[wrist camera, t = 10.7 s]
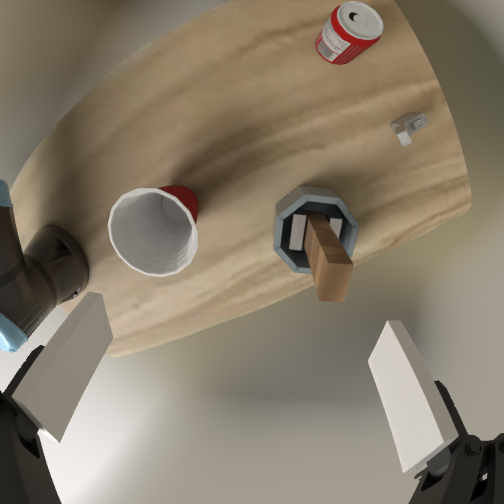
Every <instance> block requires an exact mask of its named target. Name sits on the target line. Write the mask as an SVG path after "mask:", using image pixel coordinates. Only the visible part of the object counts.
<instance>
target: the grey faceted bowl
mask: <svg viewBox="0 0 504 504" xmlns="http://www.w3.org/2000/svg"><path fill="white" fill-rule="evenodd" d="M299 207H303V209H304V211H305V210H312V211H321V212H322V213H323V215H324V210H325V209H327V210H335V211H336V212H337V213H338V214H339V216H340V217H341V218H342V224H341V230H340V235H339V241H340V242H341V244H342V246H343V247H344V249H345V251H346V253H347V254H348V256H349V258H350V257H352V255H353V251H354V246H355V242H356V237H357V233H358V228H359V224H358V223H357V221H356V220H355V218H354V217H353V215H352V214H351V213H350V211H349V210H348V208H347V207H346V205H345V204H344V203H343V201H342V200H341V199H340V198H339V197H338V196H337V195H336V194H335V193H334V192H333V191H332V190H331V189H328V188H320V187H311V186H303V185H300V186H298V187H297V188H296V189H295V190H293V191H292V192H291V193H290V194H288V195H287V196H286V197H284V198H283V199H282V200H281V201H279V202H278V203H277V204H276V206H275V216H274V226H273V248H274V250H275V252H276V253H277V254H278V255H279V256H280V257H281V258H282V259H283V260H284V262H285V263H286V264H287V265H288V266H289V267H290V268H291V269H292V270H293V272H295V273H308V274H312V272H311V268H310V265H309V261H308V258H307V254H306V251H305V248H304V244H303V241H302V248H301V250H293V249H289V246H288V240H287V235H288V227H289V218H290V214H291V213H292V212H294V211H295V210H296V209H298V208H299ZM341 213H342V216H341Z"/></svg>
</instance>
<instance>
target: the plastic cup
mask: <svg viewBox="0 0 504 504" xmlns="http://www.w3.org/2000/svg"><path fill="white" fill-rule="evenodd" d="M197 213H198V201H197V199H196V196H195V194H194V193H193V192H192V191H191V190H190V189H188V188H186V187H184V186H166V187H161V188H137V189H135V190H133V191H131V192H128V193H126V194H124V195H122V196H121V197H120V199H119V200H118V201H117V202H116V203H115V205H114V206H113V207H112V209H111V213H110V217H109V221H108V229H109V236H110V241H111V243H112V245H113V247H114V249H115V250H116V252H117V254H118V256H119V257H120V258H121V259H122V260H123V261H124V262H125V263H127V264H128V265H129V266H130V267H131V268H133V269H135V270H137V271H139V272H141V273H143V274H145V275H150V276H159V277H165V276H168V275H172V274H176V273H179V272H180V271H181V270H183V269H184V268H185V267H186V266H187V265H189V264H190V263H191V261H192V259H193V257H194V255H195V252H196V250H197V248H198V230H197V227H196V221H197Z"/></svg>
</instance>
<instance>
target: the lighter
mask: <svg viewBox="0 0 504 504" xmlns="http://www.w3.org/2000/svg"><path fill="white" fill-rule="evenodd" d="M427 125H429V122H428V120H427V118H426V115H425V114H424V113H408V114H407V115H405V116H403V117H401V118H399V119H397V120H396V121H394V122H392V123H390V126H391V128H392V130H393V132H394V133H395V134H397V136H398V138H399V140H400V142H401V144H402V146H403V147H404V146H407V145H409V144H412V142H411V140H410V137H409V135H411V134H413V133H414V132H416V131H418V130H420V129H421V128H423V127H425V126H427Z"/></svg>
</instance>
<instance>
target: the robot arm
mask: <svg viewBox="0 0 504 504" xmlns="http://www.w3.org/2000/svg"><path fill="white" fill-rule="evenodd" d="M87 282H88V267H87V263H86V260H85V257H84V255H83V252H82V251H81V249H80V247H79V245H78V244H77V243H76V241H75V240H74V239H73V238H72V237H71V236H70V235H69V234H68V233H67V232H66V231H64V230H62V229H61V228H58V227H55V226H49V227H45V228H44V229H42V230H40V231H39V232H37V233H36V234H35V235H34V237H33V238H32V240H31V241H30V243H29V244H28V245H27V247H26V248H25V250H24V252H22V248H21V244H20V240H19V237H18V232H17V228H16V223H15V218H14V213H13V204H12V203H11V198H10V194H9V189H8V185H7V183H6V182H5V181H4V180H3V179H0V349H2V350H4V351H6V352H15V351H17V350H18V349H19V348H20V347H21V346H22V345H23V343H24V342H26V341H28V338H29V337H30V336H31V334H32V333H33V332H34V331H35V329H36V328H37V327H38V326H39V325H40V323H41V322H42V321H43V320H44V319H45V318H46V317H47V315H48V314H49V313H50V312H51V311H52V310H53V309H54V308H55V307H56V306H57V305H59V304H62V303H64V302H66V301H69V300H71V299H73V298H75V297H77V296H78V295H79V294H80V293H81V292H82V291H83V290H84V288H85V287H86V285H87ZM112 339H113V335H112V331H111V328H110V324H109V321H108V317H107V313H106V309H105V305H104V301H103V297H102V294H99V293H94V292H88V293H87V294H86V296H85V297H84V298H83V299H82V300H81V301H80V303H79V304H78V305H77V306H76V307H75V309H74V310H73V311H72V312H71V314H70V315H69V316H68V317H67V319H66V320H65V321H64V322H63V324H62V325H61V326H60V327H59V329H58V330H57V331H56V333H55V334H54V335H53V337H52V338H51V339H50V341H49V342H48V343H47V345H46V346H42V345H40V346H39V347H37V348H36V349H34V350H33V351H32V352H31V353H30V355H29V356H28V357H27V359H26V362H24V363H23V365H22V366H21V368H20V369H19V370H18V372H17V373H16V375H15V376H14V378H13V379H12V381H11V382H10V384H9V385H8V387H7V389H6V390H5V391H4V392H3V393H2V392H1V391H0V504H61V501H60V499H59V497H58V494H57V492H56V489H55V486H54V484H53V481H52V478H51V475H50V472H49V469H48V466H47V463H46V460H45V456H44V453H43V449H42V445H41V442H40V438H39V436H38V434H37V432H38V430H39V429H40V430H41V432H42V433H44V434H45V436H47V437H49V438H51V439H52V440H54V441H57V442H58V443H60V441H61V439H62V437H63V435H64V432H65V430H66V428H67V426H68V423H69V421H70V419H71V417H72V415H73V413H74V411H75V409H76V407H77V405H78V403H79V401H80V399H81V397H82V395H83V393H84V390H85V389H86V387H87V385H88V383H89V381H90V379H91V377H92V375H93V374H94V372H95V370H96V368H97V366H98V364H99V363H100V360H101V359H102V357H103V355H104V354H105V352H106V350H107V348H108V346H109V345H110V343H111V341H112ZM368 363H369V366H370V369H371V371H372V374H373V377H374V380H375V383H376V385H377V388H378V391H379V394H380V397H381V400H382V403H383V406H384V409H385V412H386V415H387V418H388V421H389V424H390V428H391V431H392V434H393V438H394V441H395V444H396V448H397V451H398V455H399V458H400V462H401V466H402V470H403V473H405V472H409V471H411V470H414V469H418V468H419V467H421V466H422V465H424V464H425V463H426V462H427V466H428V467H427V468H425V469H424V470H422V471H421V472H419V473H418V474H417V475H416V476H415V478H414V479H416V478H418V477H420V476H421V475H422V477H421V478H420V479H419V481H420V482H419V484H418V486H417V488H416V490H415V492H414V494H413V496H412V498H411V500H410V502H409V504H504V433H501V434H499V435H498V436H497V437H496V438H495V439H494V440H490V441H481V440H480V439H479V438H478V437H477V436H475V435H468V433H467V431H466V429H465V427H464V425H463V422H462V420H461V418H460V416H459V413H458V411H457V409H456V407H454V403H453V401H452V399H451V397H450V395H449V393H448V391H447V389H446V387H445V386H444V385H442V383H441V382H440V381H439V380H438V381H433V379H432V377H431V375H430V373H429V371H428V369H427V367H426V365H425V364H424V361H423V360H422V358H421V356H420V354H419V352H418V350H417V349H416V347H415V345H414V344H413V341H412V340H411V338H410V336H409V334H408V333H407V331H406V329H405V328H404V326H403V324H402V323H401V321H387V322H386V325H385V327H384V330H383V331H382V334H381V336H380V338H379V340H378V342H377V344H376V346H375V348H374V350H373V352H372V354H371V356H370V358H369V360H368ZM486 473H487V479H485V480H483V479H482V476H483V475H485V474H486Z"/></svg>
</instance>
